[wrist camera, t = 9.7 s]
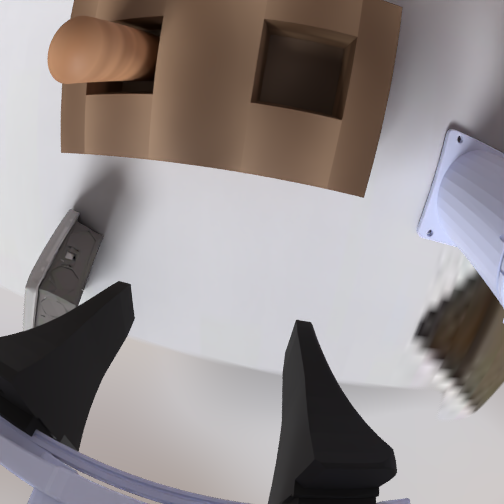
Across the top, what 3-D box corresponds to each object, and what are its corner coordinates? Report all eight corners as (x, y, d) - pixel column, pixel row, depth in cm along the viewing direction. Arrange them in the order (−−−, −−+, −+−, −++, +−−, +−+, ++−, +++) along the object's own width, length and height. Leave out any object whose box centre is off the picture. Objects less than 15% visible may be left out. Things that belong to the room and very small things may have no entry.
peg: (180, 37, 14) (108, 11, 8) (171, 82, 16) (95, 83, 9) (137, 36, 15) (54, 20, 8) (129, 79, 16) (44, 85, 9)
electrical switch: (74, 203, 22) (6, 267, 14) (123, 234, 24) (68, 311, 16) (54, 273, 27) (7, 337, 19) (94, 300, 28) (55, 370, 20)
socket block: (377, 22, 13) (402, 2, 9) (347, 172, 18) (363, 197, 14) (119, 2, 14) (76, -11, 10) (104, 136, 19) (61, 152, 15)
